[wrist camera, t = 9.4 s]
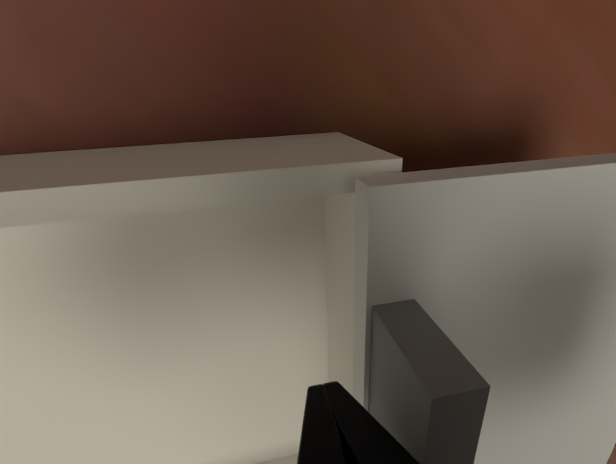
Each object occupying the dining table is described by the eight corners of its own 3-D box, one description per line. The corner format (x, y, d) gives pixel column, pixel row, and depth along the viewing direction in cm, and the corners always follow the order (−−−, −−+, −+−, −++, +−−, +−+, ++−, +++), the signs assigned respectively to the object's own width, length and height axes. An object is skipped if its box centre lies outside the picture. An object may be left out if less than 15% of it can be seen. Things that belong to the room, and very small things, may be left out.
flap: (557, 512, 18) (641, 621, 14) (350, 572, 16) (385, 716, 12) (701, 145, 11) (947, 174, 7) (355, 176, 9) (444, 240, 5)
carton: (340, 443, 22) (376, 560, 16) (-65, 534, 18) (-191, 724, 13) (338, 132, 15) (402, 158, 9) (-345, 178, 11) (-927, 270, 5)
